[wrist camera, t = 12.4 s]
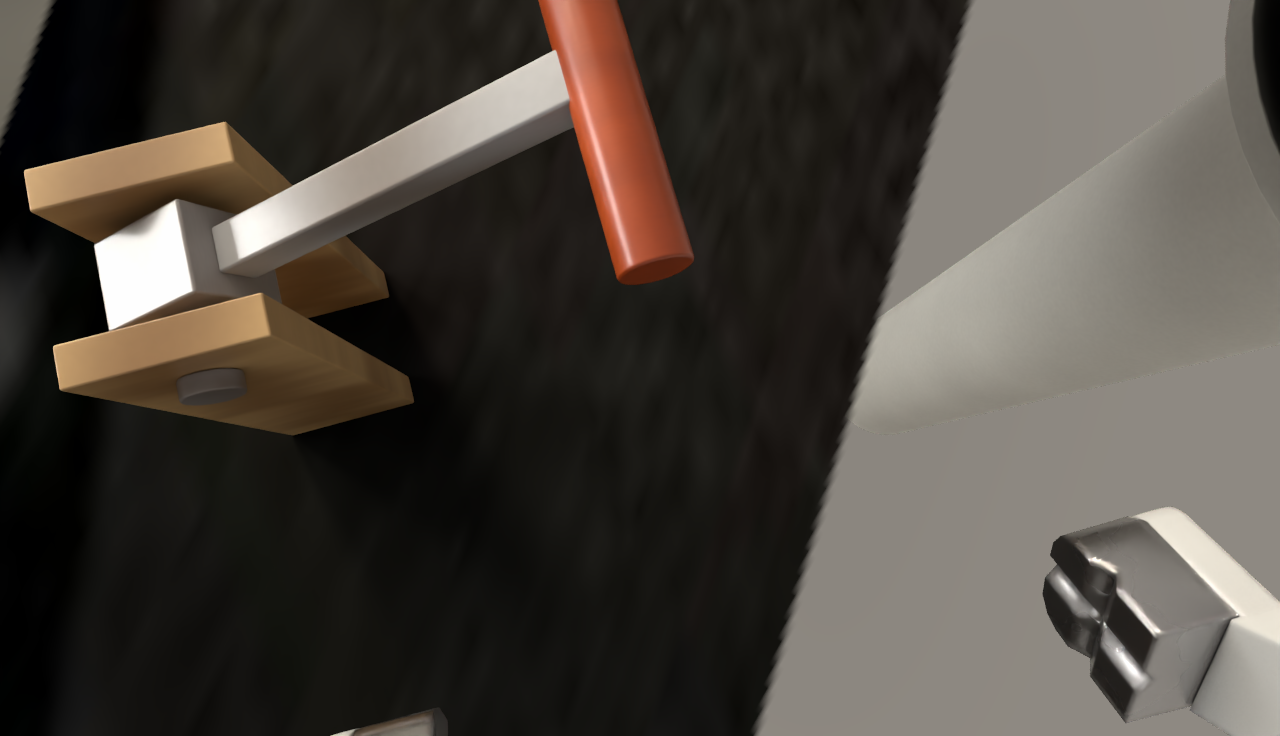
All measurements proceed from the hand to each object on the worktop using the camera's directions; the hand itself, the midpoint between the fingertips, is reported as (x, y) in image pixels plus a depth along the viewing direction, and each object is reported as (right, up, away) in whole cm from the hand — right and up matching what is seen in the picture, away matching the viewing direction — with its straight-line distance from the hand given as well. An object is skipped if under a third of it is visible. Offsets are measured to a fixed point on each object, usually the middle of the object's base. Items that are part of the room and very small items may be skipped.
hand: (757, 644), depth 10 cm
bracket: (-12, +4, +20) cm, 24 cm away
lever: (-7, +7, +8) cm, 13 cm away
